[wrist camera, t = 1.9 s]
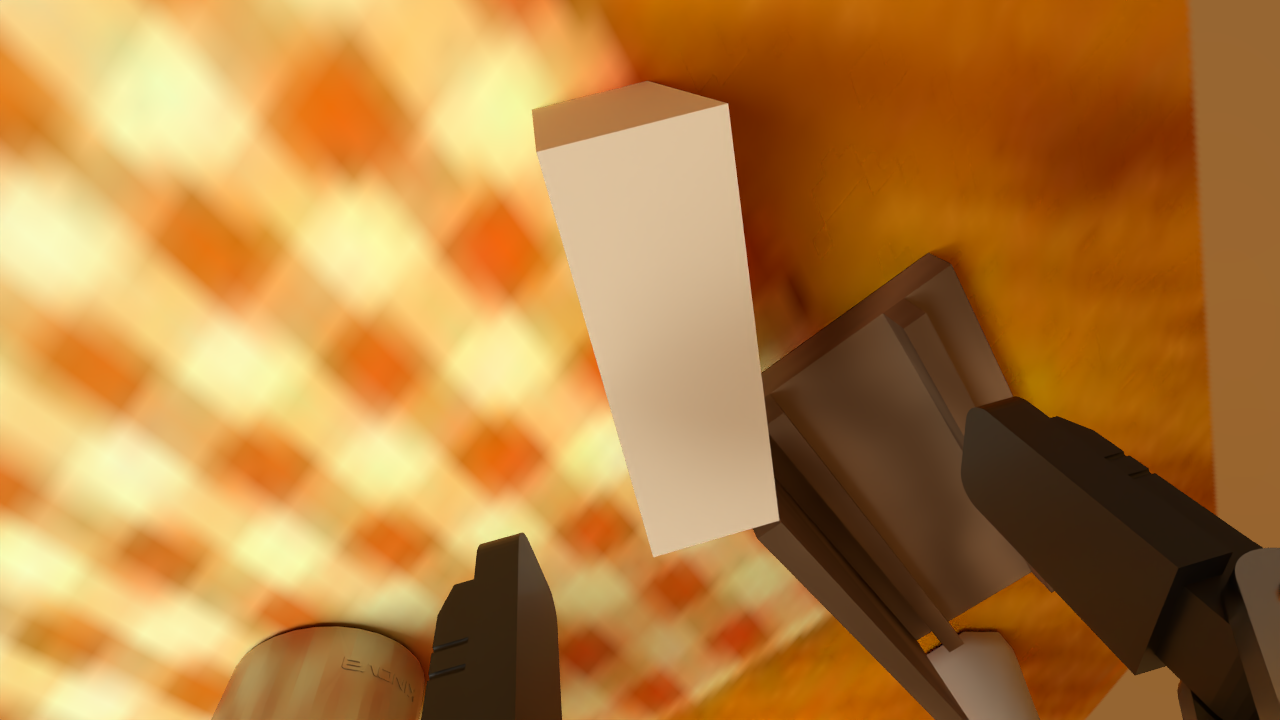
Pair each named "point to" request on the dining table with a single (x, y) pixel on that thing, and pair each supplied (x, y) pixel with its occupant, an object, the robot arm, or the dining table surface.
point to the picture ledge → (889, 472)
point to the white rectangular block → (666, 301)
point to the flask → (985, 678)
